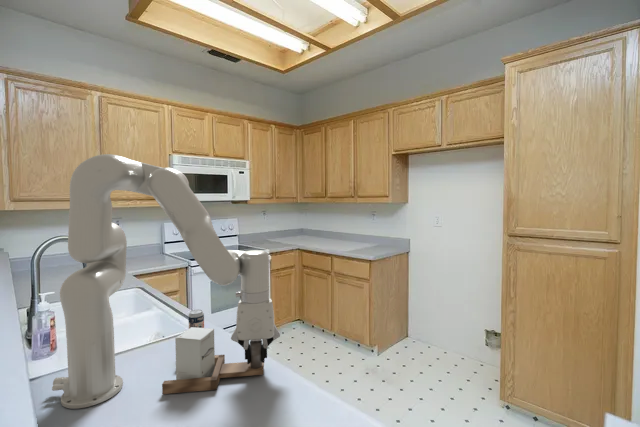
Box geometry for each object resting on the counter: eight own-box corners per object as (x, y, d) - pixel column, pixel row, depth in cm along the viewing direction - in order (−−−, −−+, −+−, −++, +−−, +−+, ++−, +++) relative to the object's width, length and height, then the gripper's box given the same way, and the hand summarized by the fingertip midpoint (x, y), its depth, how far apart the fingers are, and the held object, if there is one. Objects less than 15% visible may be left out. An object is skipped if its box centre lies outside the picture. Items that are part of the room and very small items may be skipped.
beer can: (192, 353, 100) (191, 315, 99) (186, 347, 103) (185, 311, 103) (207, 348, 103) (206, 311, 102) (201, 343, 107) (200, 307, 106)
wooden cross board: (162, 394, 79) (161, 359, 78) (178, 366, 91) (177, 336, 91) (262, 385, 82) (262, 352, 82) (264, 359, 95) (264, 330, 94)
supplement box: (201, 388, 82) (199, 340, 81) (175, 384, 83) (174, 337, 82) (215, 372, 89) (215, 328, 88) (192, 369, 90) (191, 326, 90)
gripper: (222, 301, 82) (223, 370, 83) (285, 298, 84) (286, 365, 85) (226, 293, 90) (227, 356, 91) (285, 290, 92) (285, 352, 93)
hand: (256, 360), depth 88 cm, fingers closed on wooden cross board, 3 cm apart
